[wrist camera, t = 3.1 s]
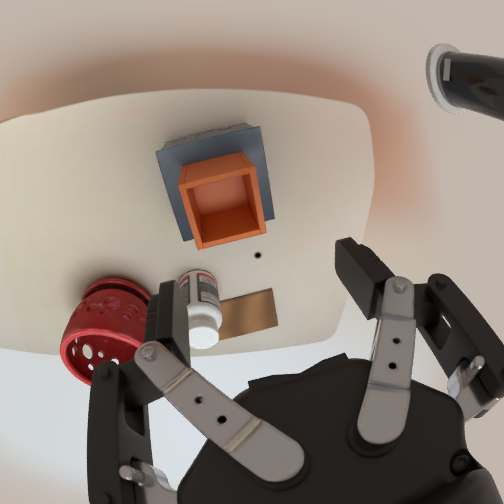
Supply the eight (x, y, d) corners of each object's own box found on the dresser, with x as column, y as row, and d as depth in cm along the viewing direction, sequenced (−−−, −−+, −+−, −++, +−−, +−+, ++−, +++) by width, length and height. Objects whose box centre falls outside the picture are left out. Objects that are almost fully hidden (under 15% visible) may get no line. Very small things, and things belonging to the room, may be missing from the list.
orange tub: (242, 150, 23) (255, 165, 19) (253, 206, 27) (266, 233, 22) (181, 165, 23) (177, 185, 19) (196, 220, 26) (198, 250, 22)
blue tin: (248, 120, 28) (260, 126, 23) (261, 197, 33) (274, 218, 28) (163, 141, 27) (155, 152, 22) (184, 216, 32) (183, 241, 27)
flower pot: (162, 336, 42) (160, 400, 32) (86, 325, 38) (71, 386, 28) (168, 273, 36) (163, 342, 26) (77, 260, 32) (46, 323, 22)
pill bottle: (186, 303, 39) (188, 356, 31) (172, 275, 36) (169, 329, 28) (221, 293, 39) (231, 346, 31) (210, 264, 36) (216, 316, 28)
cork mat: (271, 288, 41) (272, 290, 40) (277, 323, 45) (278, 325, 45) (192, 307, 40) (192, 310, 39) (207, 340, 44) (207, 343, 44)
